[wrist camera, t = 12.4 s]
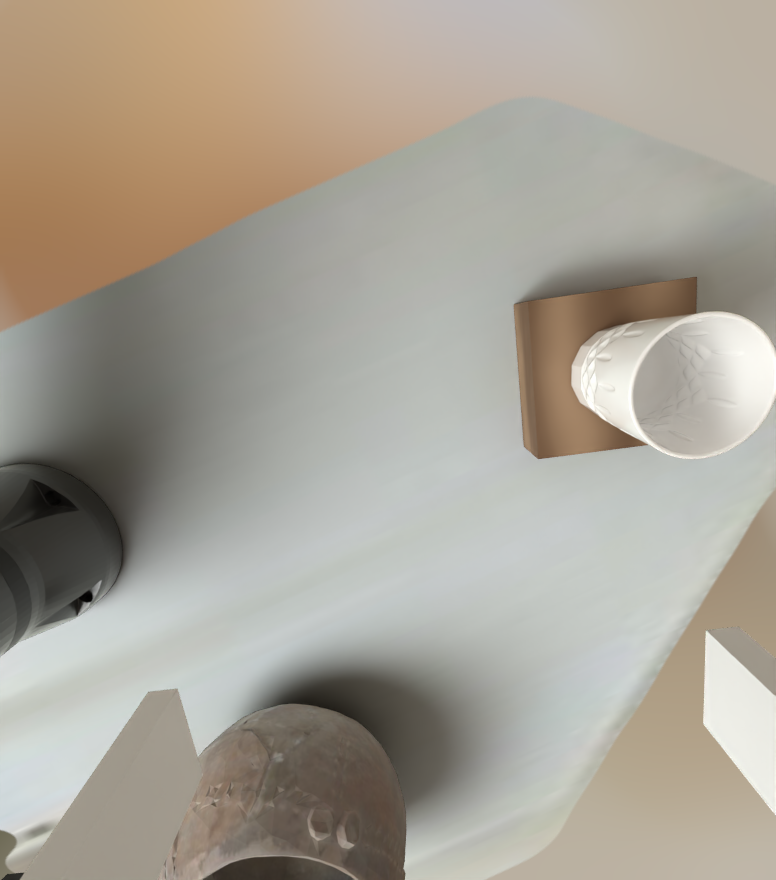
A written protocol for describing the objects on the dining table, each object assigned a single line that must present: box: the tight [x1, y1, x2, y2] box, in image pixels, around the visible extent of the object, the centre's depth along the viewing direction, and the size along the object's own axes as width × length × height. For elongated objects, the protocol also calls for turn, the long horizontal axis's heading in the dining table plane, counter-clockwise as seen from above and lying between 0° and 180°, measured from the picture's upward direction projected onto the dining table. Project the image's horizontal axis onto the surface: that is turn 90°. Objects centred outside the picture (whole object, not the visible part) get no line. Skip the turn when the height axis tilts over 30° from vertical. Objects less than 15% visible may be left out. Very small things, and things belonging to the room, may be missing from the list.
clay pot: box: [158, 704, 406, 880], centre depth 40 cm, size 21×21×15 cm
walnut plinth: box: [514, 277, 697, 459], centre depth 36 cm, size 12×12×4 cm
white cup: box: [571, 311, 776, 459], centre depth 29 cm, size 8×8×10 cm
